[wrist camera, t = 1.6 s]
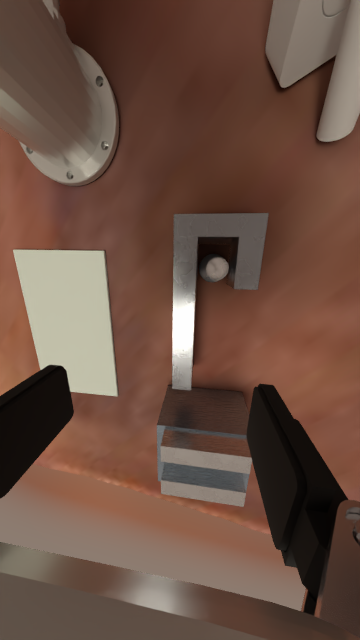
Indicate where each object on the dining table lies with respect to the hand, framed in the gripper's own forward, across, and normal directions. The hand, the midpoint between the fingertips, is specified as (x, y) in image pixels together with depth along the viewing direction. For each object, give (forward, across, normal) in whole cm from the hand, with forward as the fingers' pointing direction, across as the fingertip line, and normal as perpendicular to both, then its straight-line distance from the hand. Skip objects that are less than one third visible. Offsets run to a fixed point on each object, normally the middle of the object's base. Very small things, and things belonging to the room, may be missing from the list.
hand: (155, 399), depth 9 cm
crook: (+18, -3, -1) cm, 19 cm away
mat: (+18, +19, +4) cm, 26 cm away
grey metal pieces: (+18, -3, +8) cm, 20 cm away
